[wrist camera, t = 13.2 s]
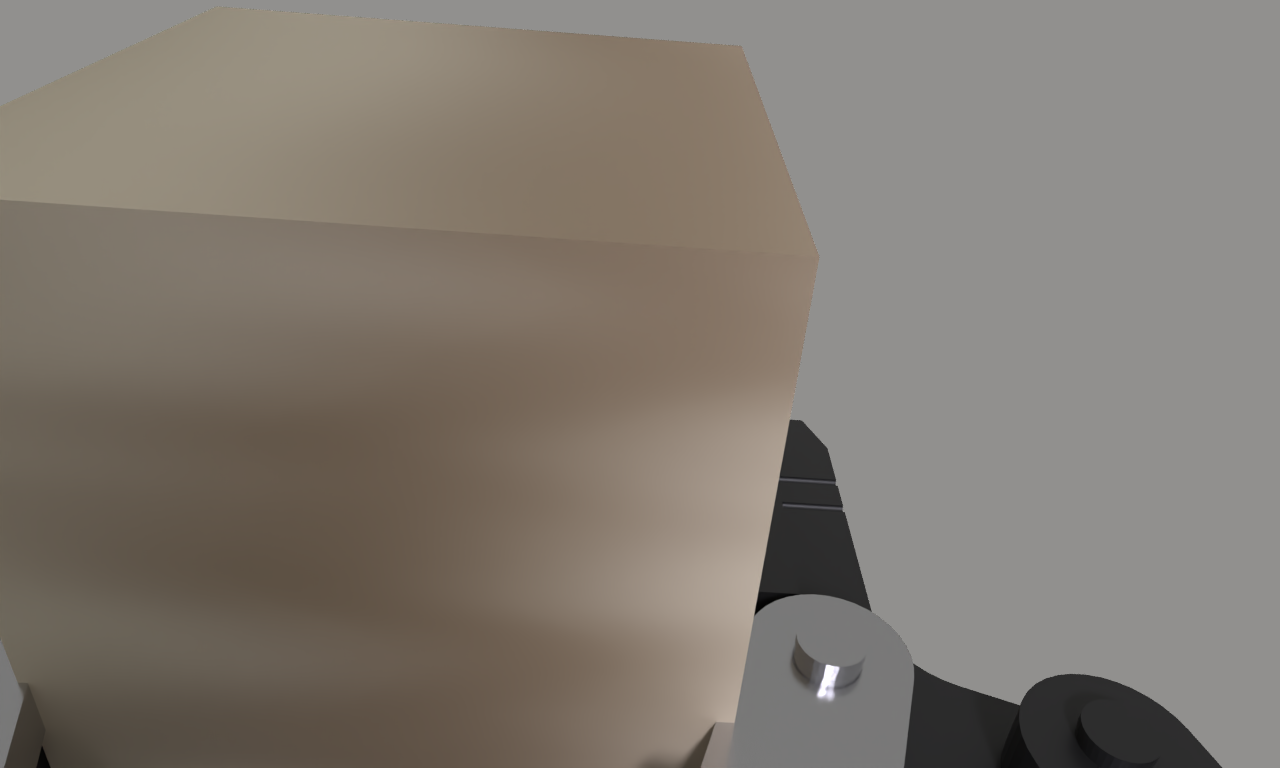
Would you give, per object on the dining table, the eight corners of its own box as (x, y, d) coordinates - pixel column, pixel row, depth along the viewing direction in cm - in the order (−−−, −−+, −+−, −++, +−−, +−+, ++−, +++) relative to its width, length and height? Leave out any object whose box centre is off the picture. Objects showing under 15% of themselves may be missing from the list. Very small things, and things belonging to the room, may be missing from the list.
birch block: (213, 1184, 10) (-176, 188, 4) (336, 797, 14) (216, 6, 8) (647, 1202, 10) (818, 256, 4) (648, 814, 14) (741, 46, 8)
